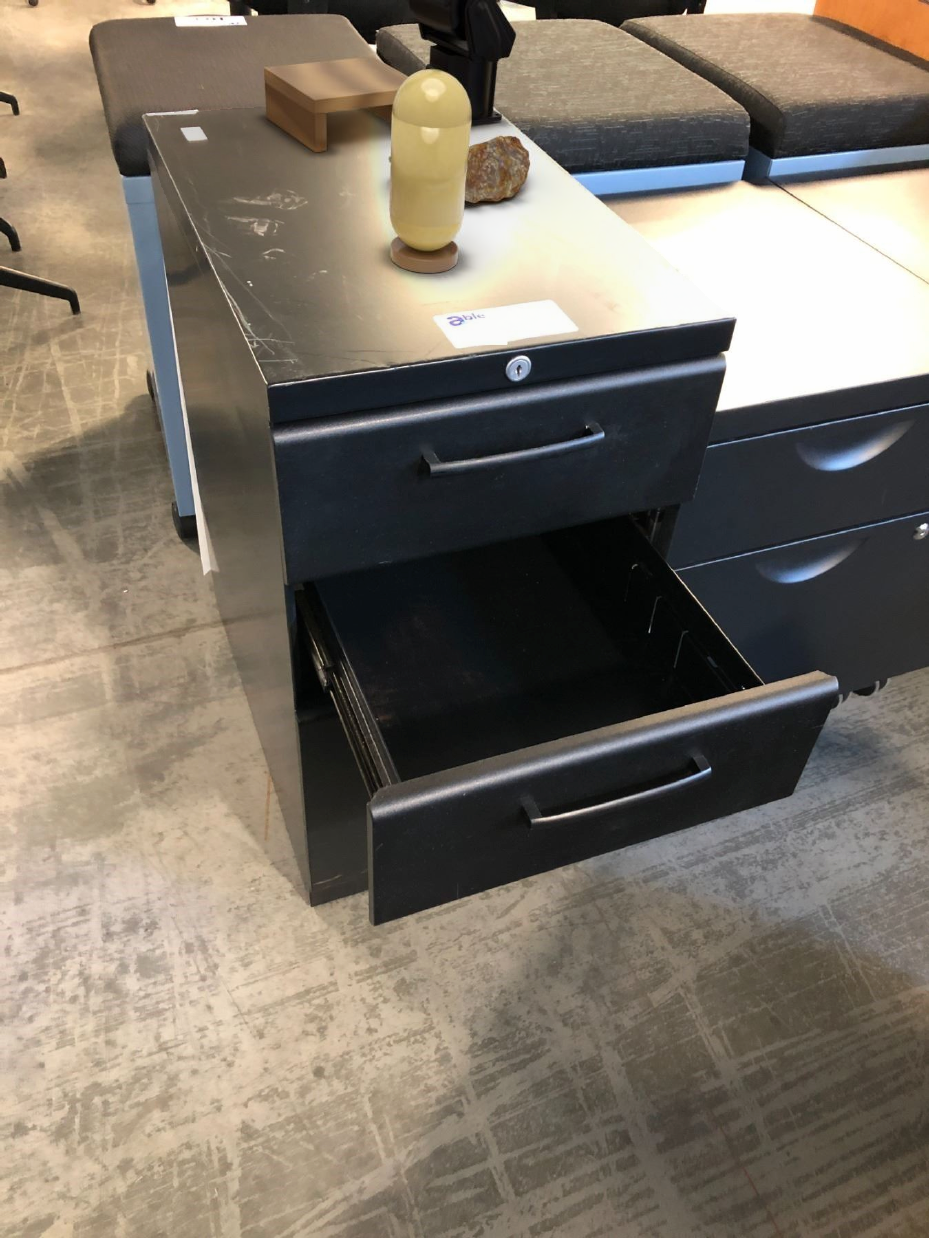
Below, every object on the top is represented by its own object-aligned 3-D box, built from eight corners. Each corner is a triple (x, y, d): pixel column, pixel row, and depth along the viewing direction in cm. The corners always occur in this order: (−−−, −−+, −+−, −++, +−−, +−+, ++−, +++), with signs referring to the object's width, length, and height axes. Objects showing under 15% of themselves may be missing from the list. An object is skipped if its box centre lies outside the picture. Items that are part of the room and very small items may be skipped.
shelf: (371, 105, 100) (372, 56, 97) (424, 136, 95) (426, 86, 92) (266, 118, 95) (263, 67, 92) (315, 152, 89) (314, 100, 86)
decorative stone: (363, 126, 81) (479, 116, 90) (359, 181, 84) (472, 165, 93) (447, 159, 77) (559, 145, 86) (439, 216, 79) (549, 196, 89)
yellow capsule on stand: (434, 238, 78) (445, 55, 69) (473, 266, 75) (491, 78, 66) (374, 250, 76) (377, 62, 66) (413, 280, 72) (422, 87, 63)
